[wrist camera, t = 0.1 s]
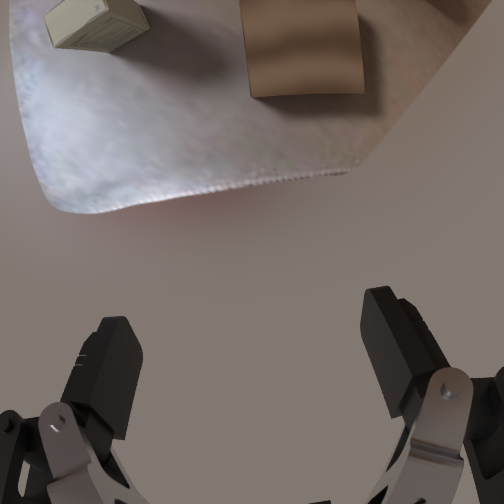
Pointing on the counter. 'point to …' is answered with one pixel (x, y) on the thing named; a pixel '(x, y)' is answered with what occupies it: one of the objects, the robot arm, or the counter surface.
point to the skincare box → (94, 24)
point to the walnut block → (302, 47)
